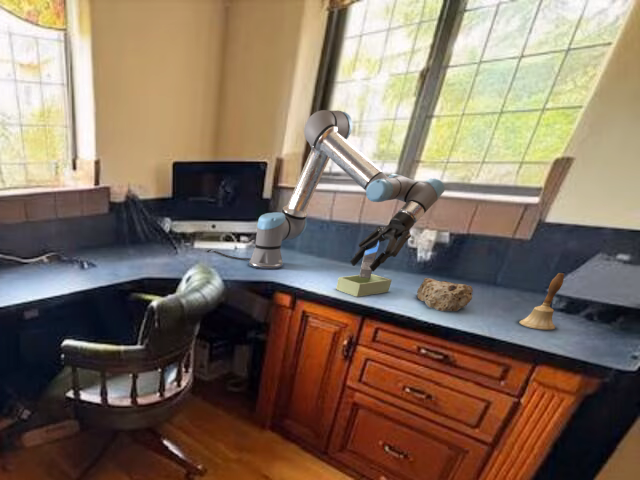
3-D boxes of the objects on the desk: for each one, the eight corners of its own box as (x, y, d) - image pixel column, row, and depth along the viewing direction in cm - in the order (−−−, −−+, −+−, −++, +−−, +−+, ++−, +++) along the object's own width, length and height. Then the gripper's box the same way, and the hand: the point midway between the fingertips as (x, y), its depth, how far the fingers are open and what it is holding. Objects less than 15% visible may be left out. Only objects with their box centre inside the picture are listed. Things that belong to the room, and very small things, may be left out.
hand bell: (514, 319, 134) (536, 269, 126) (545, 321, 132) (570, 270, 124) (527, 329, 127) (551, 276, 119) (560, 331, 125) (588, 278, 117)
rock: (407, 295, 160) (422, 270, 155) (447, 307, 157) (463, 281, 153) (424, 307, 142) (441, 278, 137) (470, 320, 139) (488, 291, 135)
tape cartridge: (359, 272, 165) (367, 239, 159) (370, 272, 164) (378, 240, 158) (359, 277, 159) (367, 243, 153) (370, 278, 157) (379, 244, 151)
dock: (335, 289, 167) (338, 277, 164) (366, 284, 171) (369, 273, 169) (356, 296, 158) (360, 284, 155) (388, 291, 162) (392, 279, 160)
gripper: (435, 229, 149) (388, 279, 152) (385, 221, 166) (344, 266, 170) (429, 214, 145) (381, 265, 148) (378, 208, 162) (336, 254, 165)
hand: (361, 266), depth 159 cm, fingers closed on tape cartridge, 8 cm apart
